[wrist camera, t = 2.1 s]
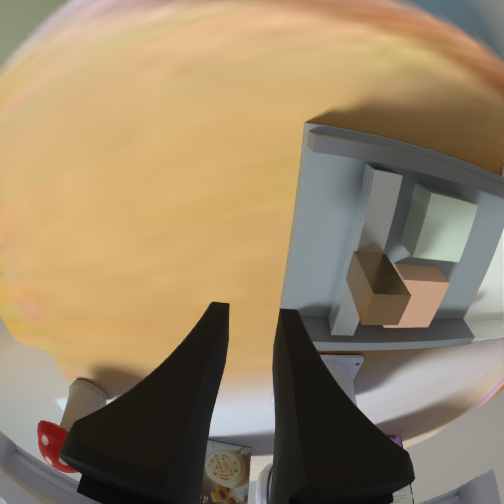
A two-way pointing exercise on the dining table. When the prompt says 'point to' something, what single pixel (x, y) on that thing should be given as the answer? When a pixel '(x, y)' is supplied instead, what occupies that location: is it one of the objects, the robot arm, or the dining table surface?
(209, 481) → the coffee box
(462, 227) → the sage tile
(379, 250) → the pale grey block
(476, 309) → the box
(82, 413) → the decorative mushroom
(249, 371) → the dining table surface
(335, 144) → the plate
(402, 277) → the terracotta tile
